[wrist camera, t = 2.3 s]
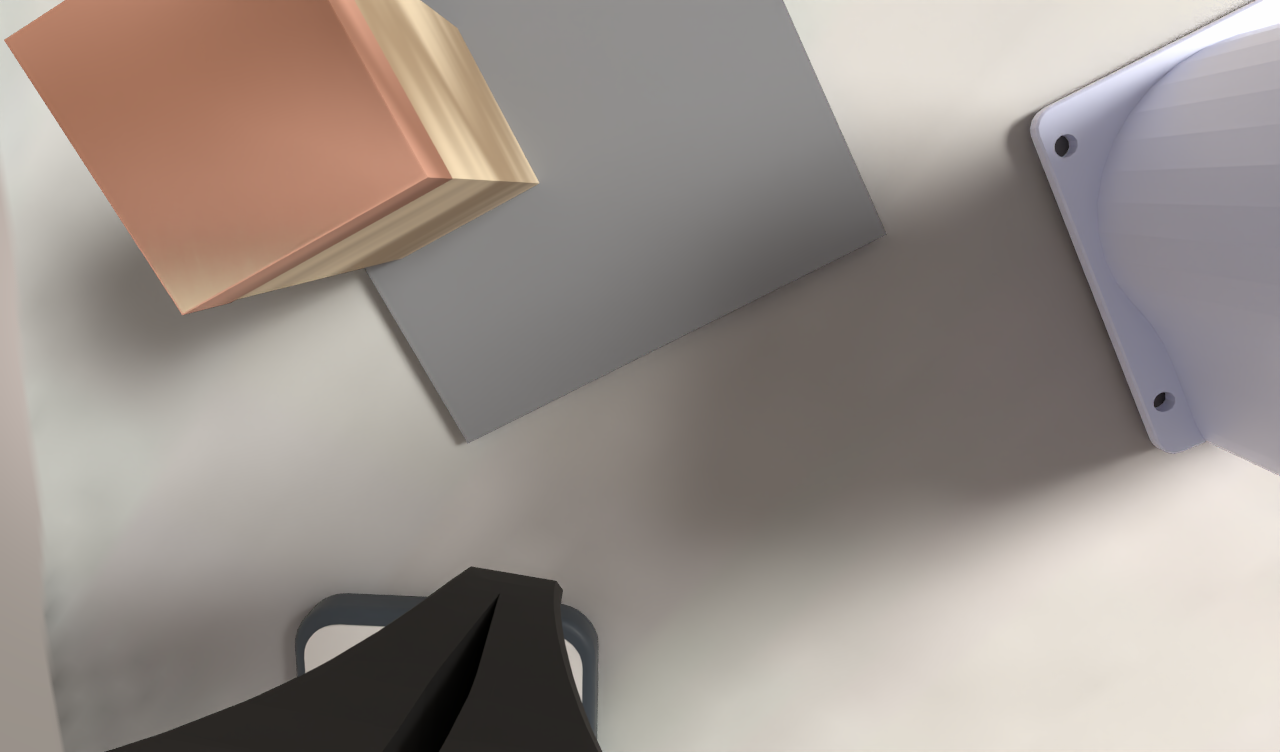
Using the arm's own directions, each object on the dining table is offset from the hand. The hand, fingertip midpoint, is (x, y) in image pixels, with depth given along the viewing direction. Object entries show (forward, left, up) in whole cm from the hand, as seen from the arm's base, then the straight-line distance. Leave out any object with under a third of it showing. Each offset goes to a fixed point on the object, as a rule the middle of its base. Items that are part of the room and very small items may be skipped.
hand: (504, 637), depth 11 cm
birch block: (+8, 0, -10) cm, 13 cm away
